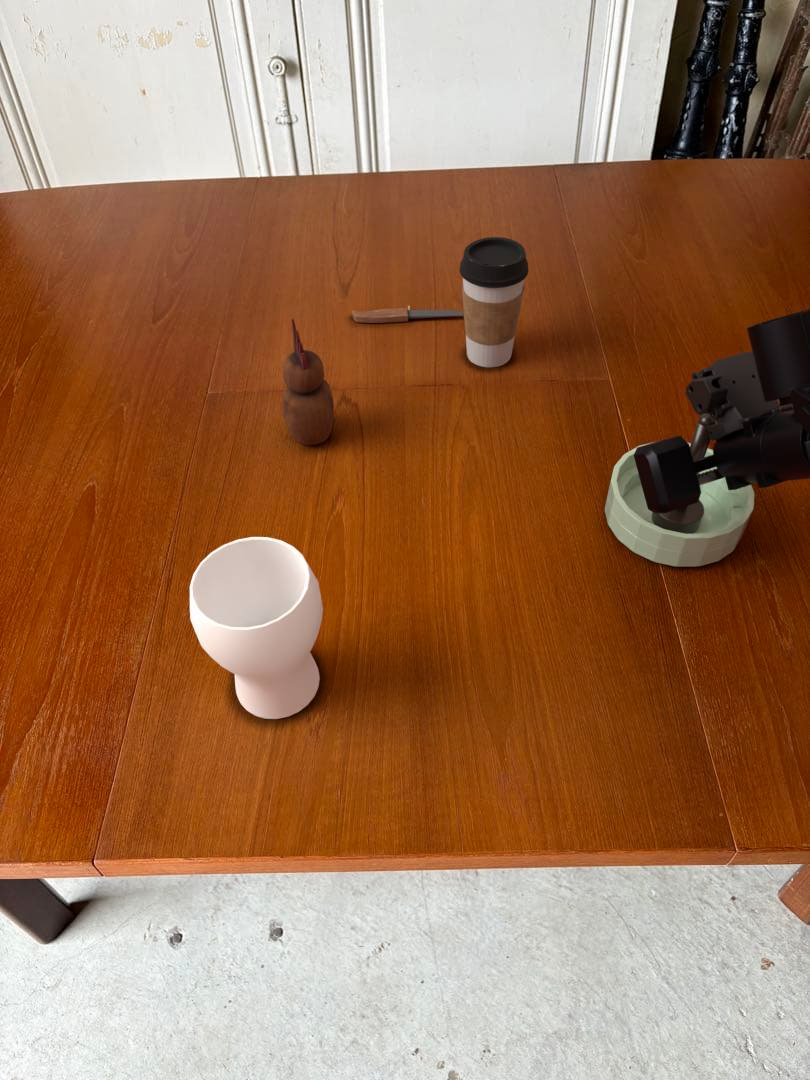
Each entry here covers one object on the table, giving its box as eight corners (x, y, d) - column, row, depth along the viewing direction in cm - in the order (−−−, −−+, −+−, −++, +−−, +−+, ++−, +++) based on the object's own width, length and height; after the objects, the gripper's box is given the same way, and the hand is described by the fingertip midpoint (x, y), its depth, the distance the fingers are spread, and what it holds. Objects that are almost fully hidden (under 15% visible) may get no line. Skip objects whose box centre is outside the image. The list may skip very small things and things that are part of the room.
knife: (469, 300, 115) (471, 312, 113) (469, 306, 116) (471, 318, 114) (352, 306, 115) (352, 318, 113) (352, 313, 115) (352, 325, 113)
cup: (336, 728, 72) (317, 630, 61) (216, 739, 72) (175, 642, 60) (333, 630, 79) (316, 526, 68) (224, 639, 79) (188, 536, 67)
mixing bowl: (767, 550, 84) (783, 517, 80) (644, 585, 82) (654, 552, 78) (695, 462, 93) (706, 428, 90) (582, 491, 91) (588, 457, 87)
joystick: (685, 544, 84) (721, 440, 74) (642, 521, 87) (671, 417, 76) (708, 517, 87) (746, 412, 76) (666, 496, 89) (697, 391, 78)
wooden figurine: (292, 416, 101) (274, 310, 90) (338, 416, 101) (326, 310, 89) (285, 453, 96) (265, 346, 85) (333, 453, 96) (320, 346, 85)
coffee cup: (448, 365, 107) (449, 260, 96) (469, 331, 112) (473, 227, 101) (510, 379, 105) (518, 273, 93) (528, 343, 110) (538, 238, 98)
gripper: (858, 323, 68) (740, 360, 84) (668, 378, 64) (580, 407, 79) (889, 451, 69) (766, 464, 85) (704, 513, 65) (609, 516, 80)
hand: (682, 460), depth 82 cm, fingers open, 9 cm apart
